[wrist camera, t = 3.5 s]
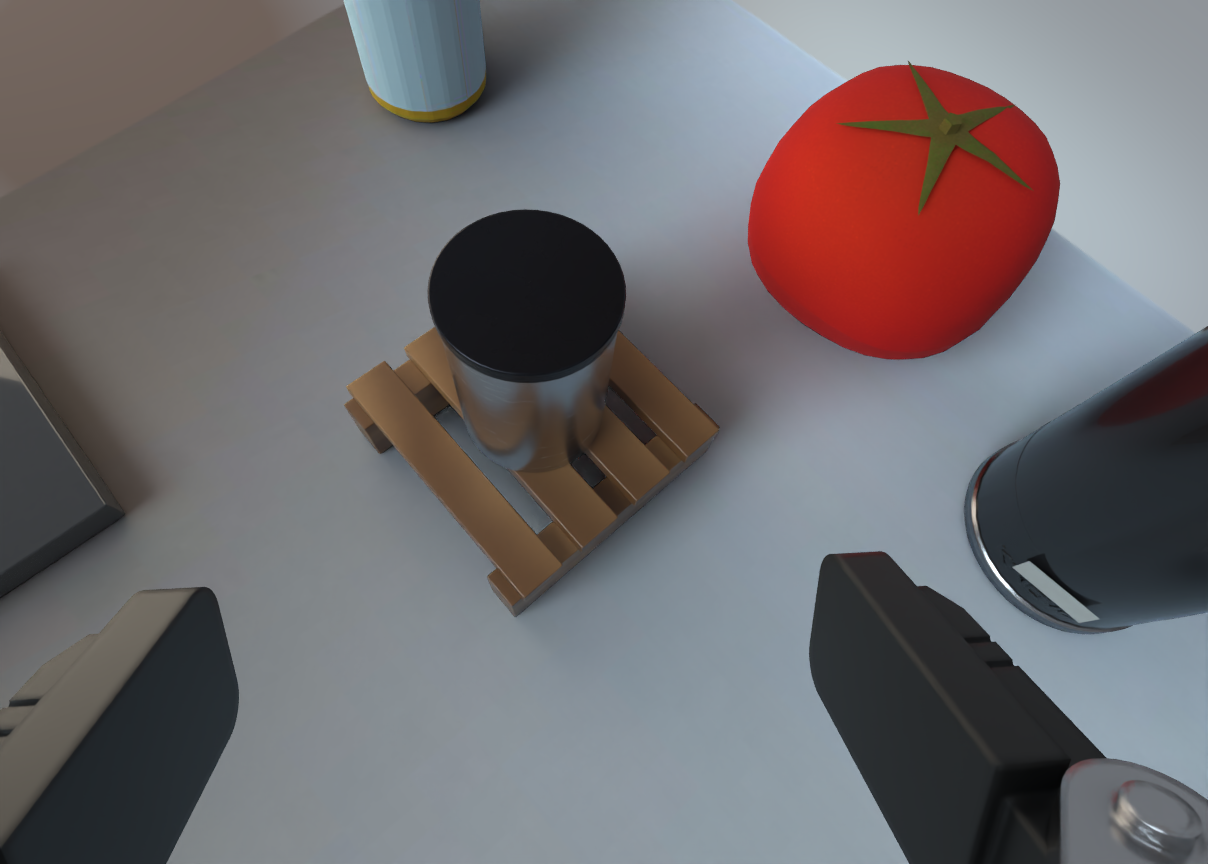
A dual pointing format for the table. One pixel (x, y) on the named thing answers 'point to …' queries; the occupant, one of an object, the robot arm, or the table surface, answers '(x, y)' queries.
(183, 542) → the table surface
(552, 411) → the metal canister
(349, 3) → the bottle
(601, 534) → the wooden pallet
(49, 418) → the stove
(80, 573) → the table surface
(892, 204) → the tomato
